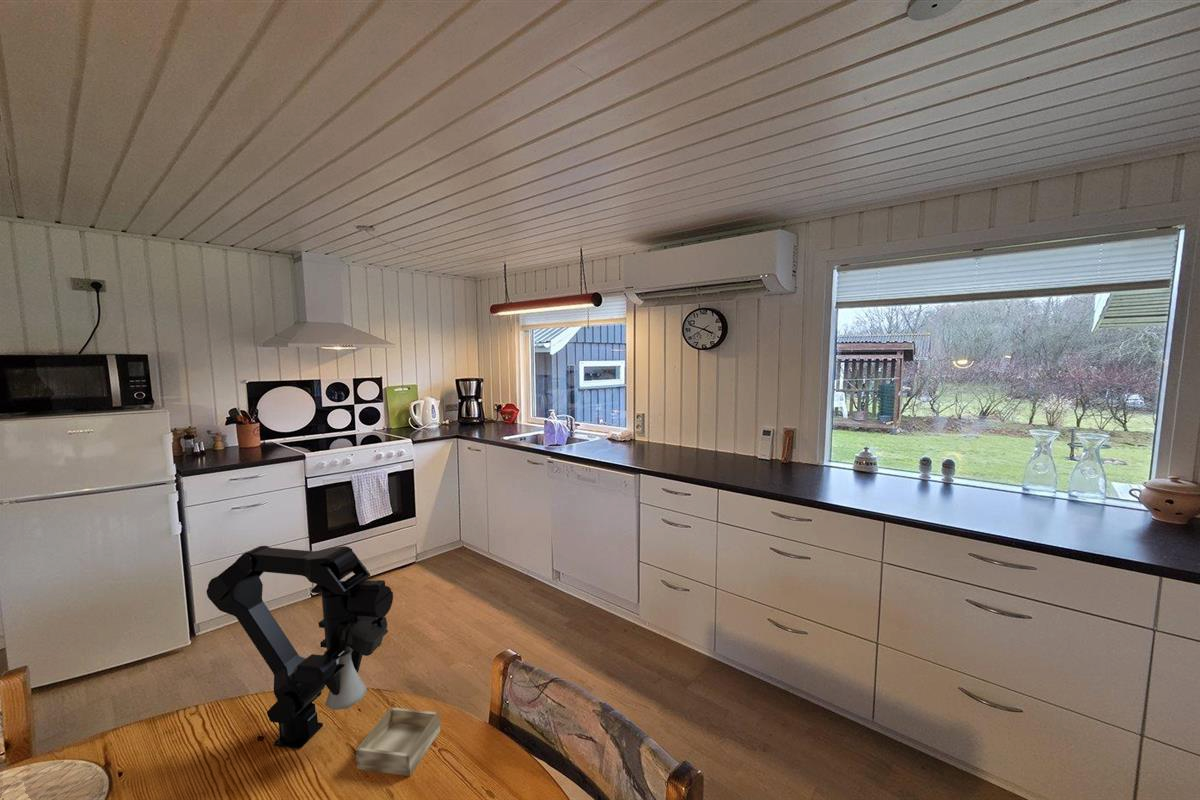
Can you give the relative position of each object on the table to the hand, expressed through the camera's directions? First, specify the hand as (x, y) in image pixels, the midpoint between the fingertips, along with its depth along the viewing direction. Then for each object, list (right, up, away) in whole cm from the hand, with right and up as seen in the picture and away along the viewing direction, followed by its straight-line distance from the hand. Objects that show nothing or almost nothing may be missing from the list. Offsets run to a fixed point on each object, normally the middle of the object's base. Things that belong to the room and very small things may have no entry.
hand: (345, 685), depth 97 cm
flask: (0, -3, 0) cm, 3 cm away
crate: (+12, -12, -1) cm, 17 cm away
